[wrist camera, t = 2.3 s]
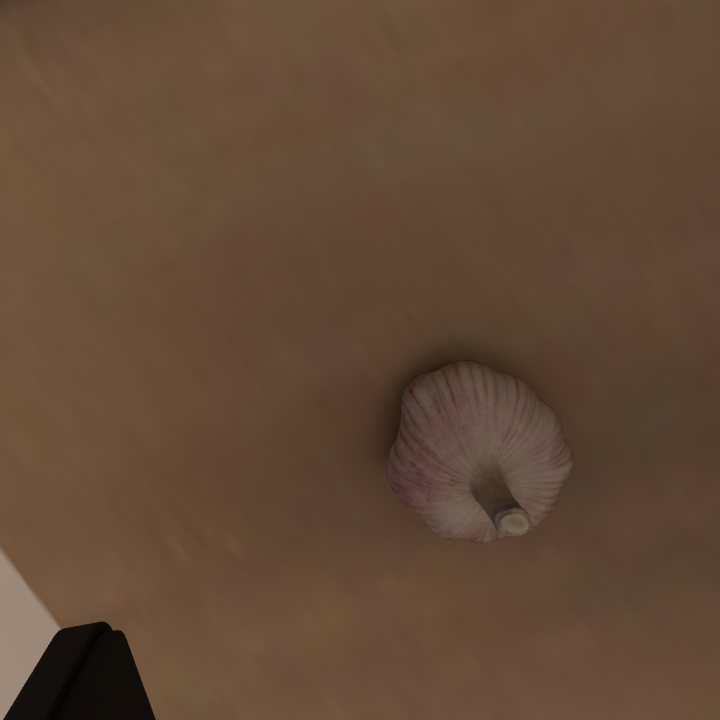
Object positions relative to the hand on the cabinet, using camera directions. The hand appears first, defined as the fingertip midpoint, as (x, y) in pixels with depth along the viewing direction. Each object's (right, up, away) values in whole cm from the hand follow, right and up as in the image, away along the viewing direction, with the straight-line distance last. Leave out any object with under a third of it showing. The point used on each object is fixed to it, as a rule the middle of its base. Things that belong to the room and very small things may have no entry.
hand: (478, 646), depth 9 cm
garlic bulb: (+3, +1, +19) cm, 19 cm away
